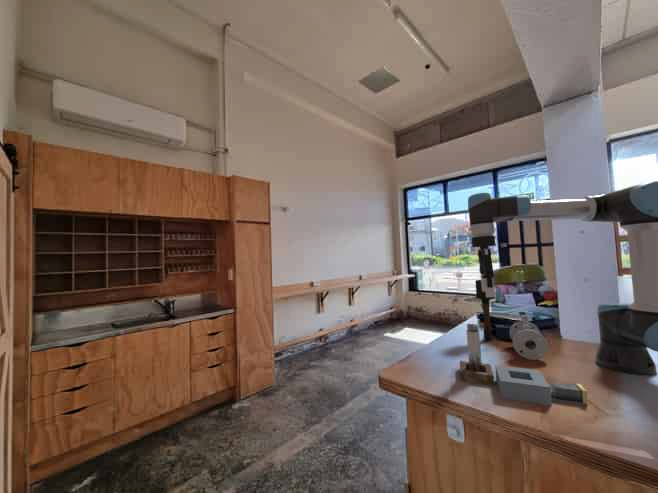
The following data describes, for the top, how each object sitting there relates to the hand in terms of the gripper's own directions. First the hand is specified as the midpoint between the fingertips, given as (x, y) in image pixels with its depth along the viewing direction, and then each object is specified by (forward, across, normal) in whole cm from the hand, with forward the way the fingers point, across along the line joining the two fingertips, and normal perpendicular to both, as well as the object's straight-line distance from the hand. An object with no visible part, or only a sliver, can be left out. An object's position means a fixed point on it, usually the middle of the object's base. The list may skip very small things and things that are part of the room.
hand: (488, 294), depth 98 cm
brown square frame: (+29, +5, -7) cm, 30 cm away
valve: (+30, -32, +16) cm, 47 cm away
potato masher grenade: (+30, -44, +2) cm, 53 cm away
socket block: (+30, +12, +9) cm, 33 cm away
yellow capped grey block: (+29, +12, +17) cm, 36 cm away
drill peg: (+28, +5, -7) cm, 29 cm away
